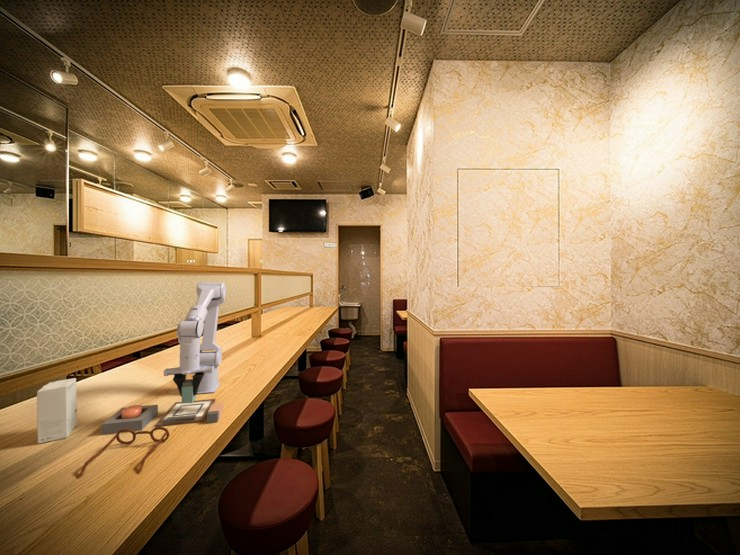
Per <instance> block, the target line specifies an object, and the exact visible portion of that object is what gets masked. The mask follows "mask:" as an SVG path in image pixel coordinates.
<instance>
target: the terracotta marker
mask: <svg viewBox="0 0 740 555" xmlns="http://www.w3.org/2000/svg"><path fill="white" fill-rule="evenodd" d="M223 412H224V402H217V403H215V402H214V404H212V406H211V408H210V409H209V411H208V414H207V416H206V424H213V423H218V422H219V421H220V419H221V416H222V414H223Z"/></svg>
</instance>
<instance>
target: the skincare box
mask: <svg viewBox="0 0 740 555" xmlns="http://www.w3.org/2000/svg"><path fill="white" fill-rule="evenodd" d="M36 404H37V405H36V406H37V407H36V410H37V411H36V412H37V415H36V416H37V417H36V418H37V419H36V420H37V421H36V423H37V426H36V427H37V444H39V445H40V444H43V443H47V442H54V441H58V440H62V439H63V440H64V439H67V438H68V437H69V435H70V433H72V431H73V430H74V429H75V427H76V426H77V425H78V413H77V411H78V410H77V407H78V406H77V405H78V402H77V378H76V377H73V378H68V379H61V380H54V381H50V382H49V383H47V384H45V385H43V386H42V387H41V388H40V389H38V390H37V391H36Z"/></svg>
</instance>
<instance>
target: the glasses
mask: <svg viewBox="0 0 740 555" xmlns="http://www.w3.org/2000/svg"><path fill="white" fill-rule="evenodd" d="M158 430H162V431H164V433H163V435H162V436H161V437H160V438H159V439H158V438H156V437H155V436H154V432H155V431H158ZM124 431H127V433H129V434H131V435H132V439H131V440H129V441H125V440H122V439H121V437H120V434H121V433H125V432H124ZM144 434H145V435H147V434H148V435H149V436H150V439H151V440H152V441H153V442H156V444H155V446H154V447H153V448H152V449H151V450H150V451H149V452H147V453H146V455H145V456H143V458H142V460H141V462H140V465H139V468H138V471H137V474H140V473H141V472H142V471H143V467H144V464H145V462H146V460H147V459H148V457H149V456H150V455H152V453H154V452H155V451H156V450H157V448H158V447H159V446H160V444H161V443H162V442H166V441H168V439H169V437H170V431H169V430H168V428H166V427H165V426H159V427H154V428H152V429H151V430H149V431H148V430H138V431H133V430H131V429H122V430H120V431H118V433H115V435H114V436H113V437H112V438H111V439H110V440H109V441H108V442H107V443H106V444H105V445H104V446H103V447H102V448H101V450H99V452H97V453H96V454H94V455H92V456H91V457H90V458H89V459H87V460H86V461H85V462H84V464H83V465H82V468H81V470H80V472H79V474H78V476H77V479H81V478H82V477H83V475H84V473H85V471H86V469H87V467H88V465H89V464H90V462H92V461H93V460H94V459H96V458H97V457H99V456H101V454H103V452H104V451H106V449H107V448H108V447H109V446H110V445H111V444H112V443H113V442H114V441H115V440H116V442H118V443H120V444H122V445H129V444H132V443H134V442H135V441H136V438H137V435H144Z"/></svg>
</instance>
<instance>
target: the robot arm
mask: <svg viewBox="0 0 740 555" xmlns="http://www.w3.org/2000/svg"><path fill="white" fill-rule="evenodd" d="M226 286H227V284H225V282H223V281H222V282H216V281H215V282H209V281H205V282H204V281H198V283H197V284H196V287H195V288H196V295H197V300H196V303H195V305H192V306H191V307H190V309H189V311H188V312H187V314H186V316H185V318H184V319H183V321H180V322H178V324H177V327H176V336H177V339H178V342H177V343H178V344H179V366H177V367H169V368H166V369H164V370H163V377H168V376H173V378H172V381H173V382H174V384H175V386H176V387H177V389H178V391H179V396H180V397H181V398H182V385H183V382H184V381H185V380H186V379H187V375H193V376H192V379H193V386H194V387H193V396H194V395H196V396H197V395H198V394H210V393H215V392H216V391H217V390H218V388H219V387H220V385H221V381H219V368H218V367H220V365H221V363H222V359H223V354H222V352H223V351H222V350H223V349H222V347H221V346H220V345H219V344H217V343H216V337H217V329H218V321H219V320H218V319H219V313H220V308H221V307H220V306H221V305H222V304H224V303H225V300H226V295H227V294H226V293H227V287H226ZM201 336H202V340H201Z"/></svg>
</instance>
